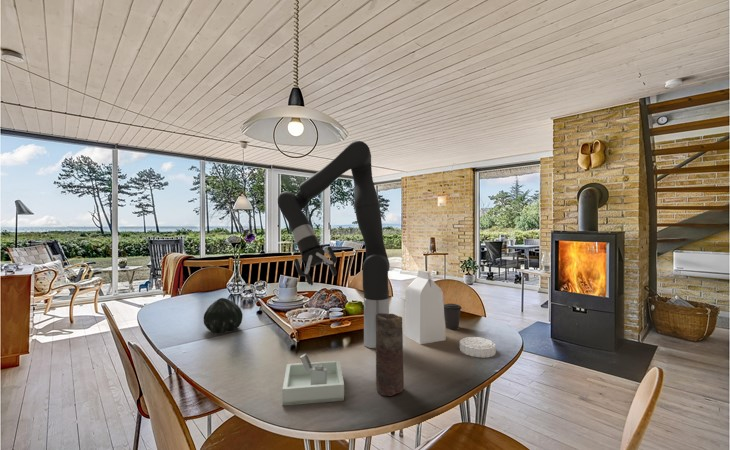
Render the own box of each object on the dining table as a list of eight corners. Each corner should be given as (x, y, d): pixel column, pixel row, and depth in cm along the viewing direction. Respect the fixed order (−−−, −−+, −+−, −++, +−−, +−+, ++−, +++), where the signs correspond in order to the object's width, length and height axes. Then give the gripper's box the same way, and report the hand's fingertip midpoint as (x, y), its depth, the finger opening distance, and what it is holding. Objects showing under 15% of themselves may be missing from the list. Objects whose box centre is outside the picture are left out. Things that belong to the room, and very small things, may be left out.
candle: (374, 383, 92) (374, 311, 92) (400, 382, 92) (400, 310, 93) (377, 397, 84) (377, 318, 84) (406, 396, 85) (406, 318, 85)
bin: (339, 374, 98) (339, 360, 98) (344, 400, 83) (344, 384, 83) (287, 377, 95) (287, 363, 95) (282, 405, 81) (282, 389, 81)
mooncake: (466, 343, 124) (466, 333, 124) (500, 350, 117) (500, 340, 117) (454, 352, 115) (454, 342, 115) (489, 361, 108) (489, 350, 108)
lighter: (327, 384, 90) (327, 354, 90) (325, 387, 88) (325, 357, 88) (302, 382, 91) (302, 352, 91) (299, 385, 89) (299, 355, 89)
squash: (234, 310, 151) (214, 289, 143) (254, 316, 142) (234, 294, 134) (211, 337, 143) (188, 316, 134) (231, 345, 134) (208, 324, 126)
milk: (403, 334, 134) (403, 270, 134) (427, 331, 138) (427, 268, 138) (419, 344, 123) (419, 273, 123) (445, 340, 127) (445, 272, 127)
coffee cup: (464, 330, 139) (464, 306, 139) (444, 330, 139) (444, 306, 139) (458, 324, 147) (458, 302, 147) (440, 324, 147) (440, 302, 147)
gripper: (287, 242, 114) (304, 284, 109) (325, 229, 119) (343, 269, 114) (287, 250, 121) (304, 290, 116) (323, 237, 126) (341, 275, 121)
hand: (323, 279), depth 115 cm, fingers open, 8 cm apart
